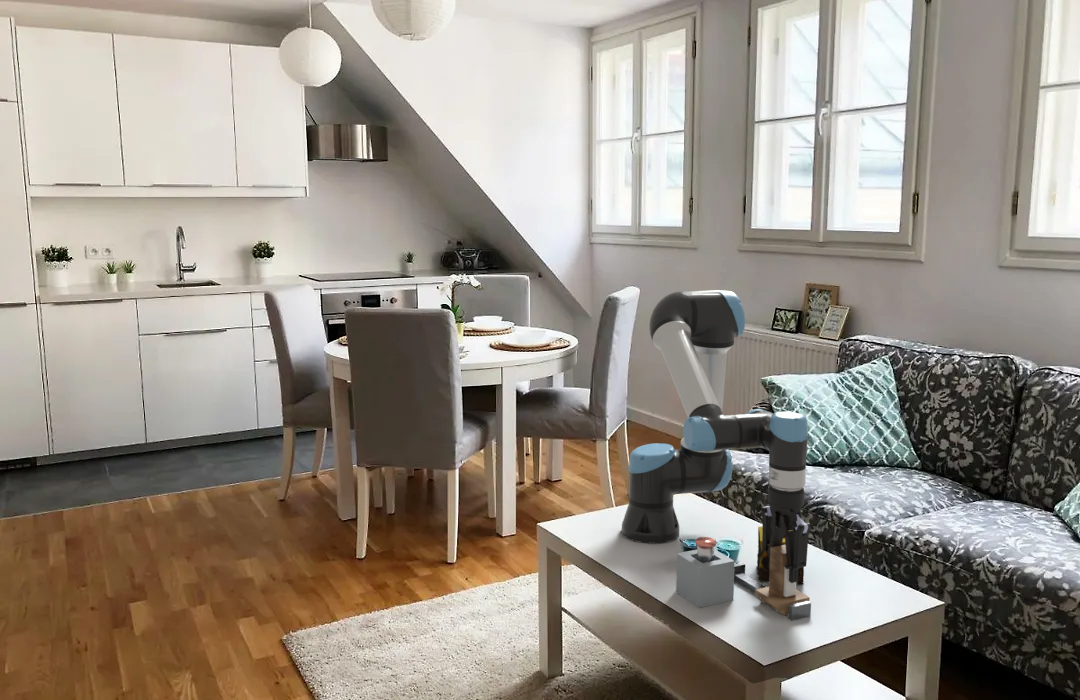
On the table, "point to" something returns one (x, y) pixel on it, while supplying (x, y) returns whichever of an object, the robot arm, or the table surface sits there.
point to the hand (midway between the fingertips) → (782, 590)
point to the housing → (705, 578)
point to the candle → (764, 562)
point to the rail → (740, 577)
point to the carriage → (778, 584)
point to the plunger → (705, 549)
